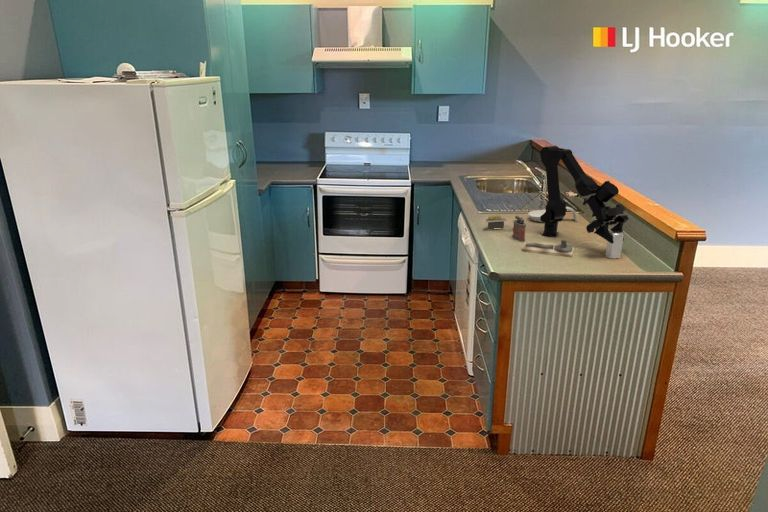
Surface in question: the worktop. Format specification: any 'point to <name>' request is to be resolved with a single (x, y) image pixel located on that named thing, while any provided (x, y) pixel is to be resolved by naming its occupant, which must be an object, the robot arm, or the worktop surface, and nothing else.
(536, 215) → the spoon rest
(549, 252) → the board
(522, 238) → the lighter
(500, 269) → the worktop surface
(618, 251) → the silver cylindrical piece
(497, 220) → the platform
